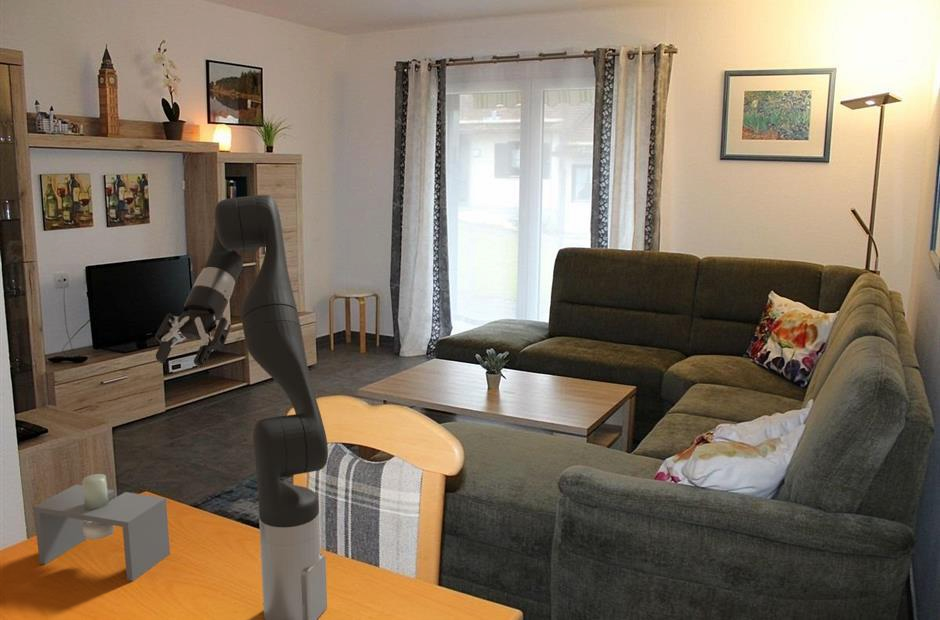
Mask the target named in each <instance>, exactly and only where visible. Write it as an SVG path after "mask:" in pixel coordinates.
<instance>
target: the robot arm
mask: <svg viewBox="0 0 940 620" xmlns="http://www.w3.org/2000/svg"><path fill="white" fill-rule="evenodd" d="M211 245H212V246H211V249H210V253H209V256H208V258H207V260H206V261H205V263H204V267H203V268H202V270H201V272H200V273H199V275H198V276H197V278H196V280H195V281H194V284H193V286H192V287H191V290H190V292H189V294H188V296H187V298H186V300H185V302H184V305H183V306H184V307H183V312H182V314H180V315H179V316H175V315H173V314H172V313H171V312H169V313H167V314H166V315H165V316H164V319H163V320H162V322H161V324H160V326H159V328H158V329H157V331H156V333H155V335H154V338H155V339H156V340H157V341H158V342H159V343H160V345H159V347H158V349H157V351H156V353H155V358H156V361H158V363H160V364H166V361H167V360H168V358H169V355H170V354H171V351H172V347H173V346H175V345H176V344H178V343H181V342H184V340H186V339H187V340H193V339H194V340H197V341H200V340H201V342H202V343H201V344H202V345H200V347H199V349H198V351H197V353H196V355H195V357H194V360H193V363H194V365H195V366H196V367H197V368H203V367H204V365H206V363H208V362H207V361H208V359H209V358H210V355H211V353H212V352H213V351H214V350H219V351H220V350H222V349H223V348H224V347H225V343H226V341H227V338H228V336H229V333H230V330H231V327H232V324H231V323H230V322H229V321H228V319H227V318H225V317H223V315H224V312H225V310H226V308H227V306H228V304H229V302H230V299H231V297H232V295H233V292H234V288H235V285H236V283H237V280H238V278H239V276H240V274H241V271H242V269H243V268H244V267H243V266H244V260H243V258H242V257H241V255H240V254H239V253H238V252H236V251H241V252H243V253H245V254H250V255H252V254H255V253H257V251H259V250H260V248H265V251H264V256H263V257H264V258H263V261H262V264H261V267H260V269H259V271H258V274H257V275H256V277H255V279H254V281H253V283H252V284H251V287H250V288H249V290H248V292H247V294H246V296H245V298H244V300H243V303H242V306H241V310H240V320H241V322H242V323H241V325H242V330H243V337H244V342H245V347H246V349H247V351H248V353H249V355H250V356H251V357H252V359H254V361H255V362H256V363H257V364H258V365H259V367H261V368H262V370H264V371H265V372H266V373H267V374H268V375H269V376H270V377H271V378H272V379H273V380H274V381H275V382H276V383H277V384H278V386H279V387H280V388H281V389H282V390H283V391H284V393H285V394H286V396H287V398H288V399H289V402H290V403H291V404H290V405H292V408H293V410H294V412H295V413H294V414H288V415H279V416H272V417H266V418H262V419H259V420H257V422H256V423H255V425H254V427H253V432H252V440H253V441H252V445H253V455H254V463H255V472H256V473H255V474H256V485H257V500H258V520H259V521H258V522H259V542H260V561H261V562H260V565H261V566H260V567H261V582H262V583H261V584H262V599H263V600H262V606H263V617H264V620H319V618H320V617H321V615H323V613H324V612H325V610H327V608H328V591H327V588H328V587H327V564H326V563H327V559H326V554H324V553H321V539H320V537H321V534H320V533H321V530H320V506H319V505H320V504H319V498H318V495H317V493H316V492H315V491H313V490H312V489H310V488H308V487H305V486H301V485H295V484H290V483H286V482H284V481H282V480H280V479H281V478H283V477H289V476H294V475H295V476H296V475H301V474H306V473H307V474H308V473H313V472H317V471H320V470H323V469H324V468H325V466H326V465H327V463H328V460H329V459H328V457H329V448H328V446H329V445H328V440H327V435H326V430H325V426H324V422H323V419H322V415H321V410H320V407H319V404H318V401H317V398H316V394H315V390H314V387H313V383H312V380H311V379H312V378H311V376H310V372H309V366H308V360H307V356H306V351H305V344H304V339H303V334H302V333H303V331H302V326H301V323H300V322H301V321H300V317H299V313H298V308H297V304H296V300H295V297H294V292H293V288H292V284H291V280H290V279H291V278H290V275H289V270H288V264H287V257H286V250H285V242H284V236H283V227H282V221H281V216H280V212H279V208H278V205H277V202H276V201H275V199H274V197H272V196H271V195H268V194H255V195H249V196H238V197H231V198H225V199H222V200H220V201H218V203H217V204H216V206H215V208H214V228H213V240H212V244H211ZM214 330H215V332H214ZM179 331H180V333H181V334H178V332H179ZM211 332H214V335H213V337H212V333H211Z"/></svg>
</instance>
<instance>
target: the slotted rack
mask: <svg viewBox="0 0 940 620" xmlns="http://www.w3.org/2000/svg"><path fill="white" fill-rule="evenodd" d="M107 493H108V505H106V506H105V507H102V508H99V509H87V508H85V502H84V492H83V484H77V483H76V484H74V485H72V486H70V487H69V488H67V489H64V490H62V491H61V492H59V493H57V494H55V495H53V496H51V497H49V498H48V499H46V500H44V501H41V502H39V503H37V504H36V505H33V513H34V522H35V531H36V542H37V552H38V559H39V564H40V565H47V564H49V563H50V562H52V561H53V560H55V559H56V558H58V557H59V556H61V555H63V554H64V553H66V552H67V551H69V550H71V549H72V548H74V547H76V546H78V545H79V544H81V543H83V542H84V541H86V539H87V538H85V537H84V531H83V523H84V522H85V521H91V522H97V523H103V524H109V525H114V527H121V528H122V538H123V546H124V548H123V549H124V559H125V569H126V571H125V573H126V580H127V581H130V582H134V581H135V580H137V579H139V578H140V577H141V576H143V574H145V573H146V572H148V571H149V570H150V569H152V568H153V567H154V566H155V565H157V564H159V563H160V562H161V561H163V560H164V559H165V558H167V557H168V556H169V555H171V551H170V549H171V548H170V537H169V536H170V534H169V533H170V532H169V524H168V522H169V521H168V520H169V519H168V510H167V509H168V508H167V506H168V505H167V498H166V497H160V496H153V495H148V494H147V495H146V494H140V493H135V492H130V491H129V492H128V491H125V492H123V493H122V494H121V493H120V495H118V496H116V491H115V489H109V488H107ZM115 496H116V497H115ZM111 498H112V499H111ZM109 499H111V500H109Z"/></svg>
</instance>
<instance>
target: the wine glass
mask: <svg viewBox="0 0 940 620" xmlns="http://www.w3.org/2000/svg"><path fill="white" fill-rule="evenodd" d="M82 485H83V492H84V502H85V508H87V509H99V508H102V507H105V506H106V505H108V502H109V499H108V493H107V489H108V482H107V475H105V474H103V473H95V474H91V475H87V476H85V477H83V478H82ZM83 531H84V537H85V538H86V539H88V540H98V539H99V540H101V539H105V538H107V537H109V536H111V535H112V534H113V533H115V525H109V524H103V523H97V522H91V521H85V522H84V523H83Z"/></svg>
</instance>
